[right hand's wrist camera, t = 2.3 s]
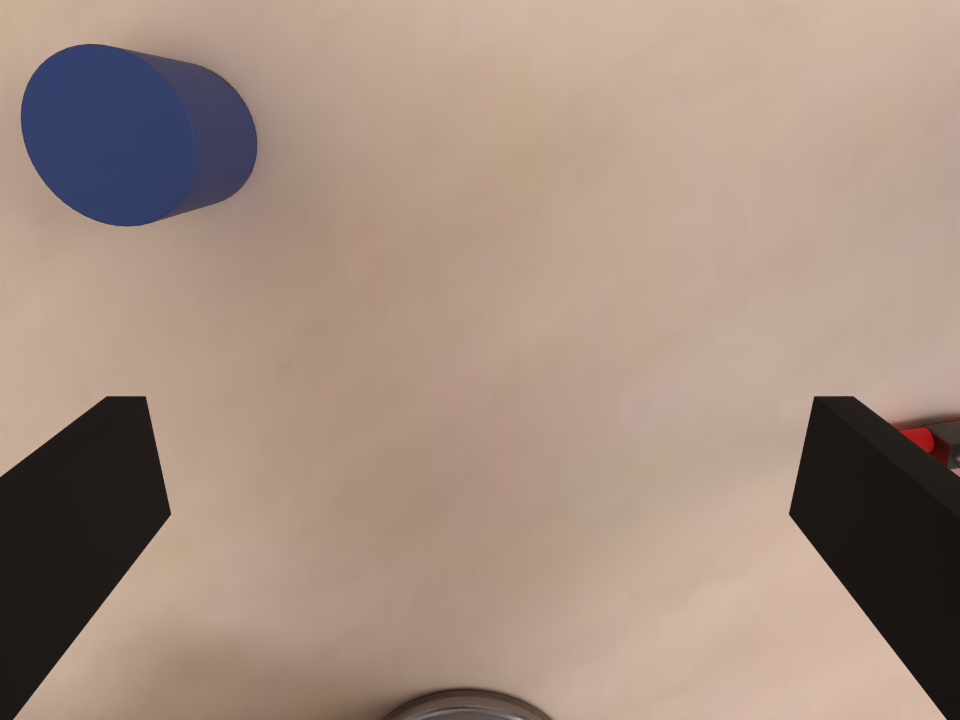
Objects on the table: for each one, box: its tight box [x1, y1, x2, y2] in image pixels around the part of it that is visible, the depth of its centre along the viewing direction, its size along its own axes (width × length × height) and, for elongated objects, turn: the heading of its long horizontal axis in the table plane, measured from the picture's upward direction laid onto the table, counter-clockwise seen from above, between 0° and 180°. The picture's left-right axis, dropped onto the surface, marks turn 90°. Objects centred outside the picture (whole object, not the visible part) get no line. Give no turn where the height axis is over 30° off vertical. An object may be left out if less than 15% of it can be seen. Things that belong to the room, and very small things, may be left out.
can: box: [21, 44, 257, 226], centre depth 27 cm, size 6×6×7 cm
